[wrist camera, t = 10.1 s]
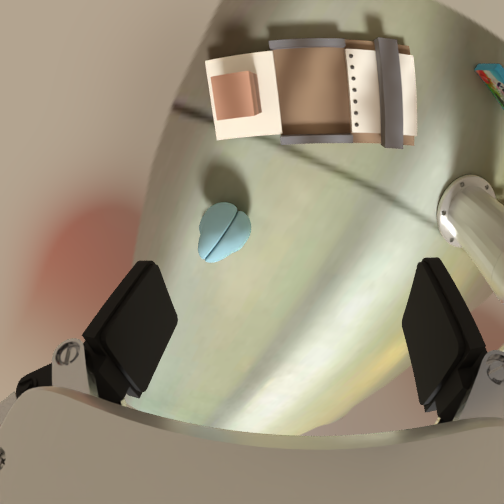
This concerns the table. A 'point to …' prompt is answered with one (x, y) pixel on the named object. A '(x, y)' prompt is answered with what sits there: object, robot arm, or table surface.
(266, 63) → the block on cream tray
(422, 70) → the table surface
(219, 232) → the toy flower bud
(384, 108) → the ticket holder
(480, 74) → the yogurt
